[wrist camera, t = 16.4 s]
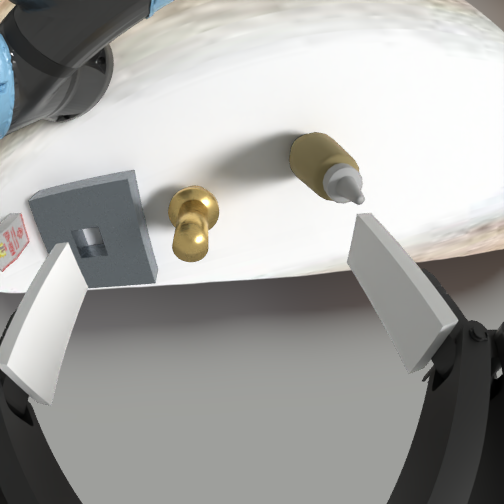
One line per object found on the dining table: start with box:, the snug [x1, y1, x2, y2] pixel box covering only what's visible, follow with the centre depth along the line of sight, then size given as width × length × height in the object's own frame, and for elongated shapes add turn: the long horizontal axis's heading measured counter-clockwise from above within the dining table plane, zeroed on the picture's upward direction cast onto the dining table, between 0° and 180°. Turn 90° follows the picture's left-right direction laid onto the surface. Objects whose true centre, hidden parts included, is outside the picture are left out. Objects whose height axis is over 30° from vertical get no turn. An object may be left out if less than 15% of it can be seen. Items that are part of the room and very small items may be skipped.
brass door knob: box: [168, 186, 219, 262], centre depth 38 cm, size 8×8×14 cm
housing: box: [28, 170, 158, 288], centre depth 43 cm, size 20×20×4 cm
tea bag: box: [0, 213, 29, 272], centre depth 36 cm, size 4×7×10 cm, turn 173°
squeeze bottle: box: [289, 132, 365, 205], centre depth 34 cm, size 8×8×18 cm
